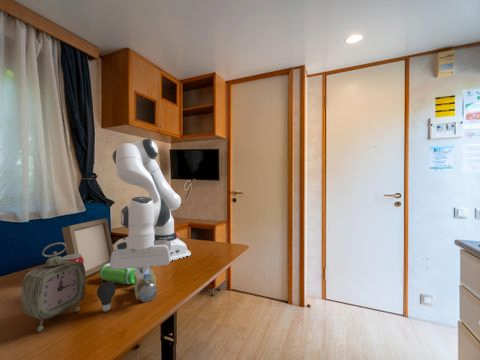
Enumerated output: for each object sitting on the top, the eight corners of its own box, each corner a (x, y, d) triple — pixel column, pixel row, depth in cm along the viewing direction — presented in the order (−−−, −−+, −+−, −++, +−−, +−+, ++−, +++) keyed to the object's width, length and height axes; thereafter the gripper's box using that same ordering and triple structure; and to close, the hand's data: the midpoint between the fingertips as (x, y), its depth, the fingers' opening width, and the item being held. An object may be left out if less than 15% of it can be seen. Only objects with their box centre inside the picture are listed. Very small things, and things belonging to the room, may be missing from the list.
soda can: (64, 300, 84) (64, 261, 84) (55, 295, 88) (55, 257, 88) (87, 291, 91) (87, 255, 91) (78, 287, 95) (78, 252, 95)
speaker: (142, 280, 101) (142, 264, 101) (129, 288, 94) (129, 270, 94) (111, 276, 106) (111, 260, 106) (98, 282, 99) (98, 265, 99)
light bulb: (102, 306, 80) (102, 279, 80) (118, 306, 80) (118, 278, 80) (93, 316, 74) (93, 286, 74) (110, 315, 75) (110, 285, 75)
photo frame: (115, 264, 121) (115, 218, 121) (79, 281, 100) (79, 226, 100) (92, 262, 124) (92, 217, 124) (53, 279, 103) (53, 225, 103)
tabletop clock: (36, 337, 64) (36, 251, 64) (17, 330, 67) (17, 247, 68) (85, 310, 78) (85, 238, 78) (68, 305, 81) (68, 236, 81)
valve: (150, 284, 97) (150, 265, 97) (158, 299, 85) (157, 278, 85) (133, 288, 93) (133, 269, 93) (138, 304, 81) (138, 282, 81)
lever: (139, 272, 90) (139, 267, 90) (149, 270, 92) (149, 265, 92) (142, 282, 81) (142, 277, 81) (153, 280, 82) (153, 275, 82)
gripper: (171, 237, 88) (170, 272, 88) (113, 240, 82) (113, 278, 82) (170, 241, 82) (170, 278, 82) (108, 245, 76) (108, 285, 76)
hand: (141, 278), depth 82 cm, fingers closed
